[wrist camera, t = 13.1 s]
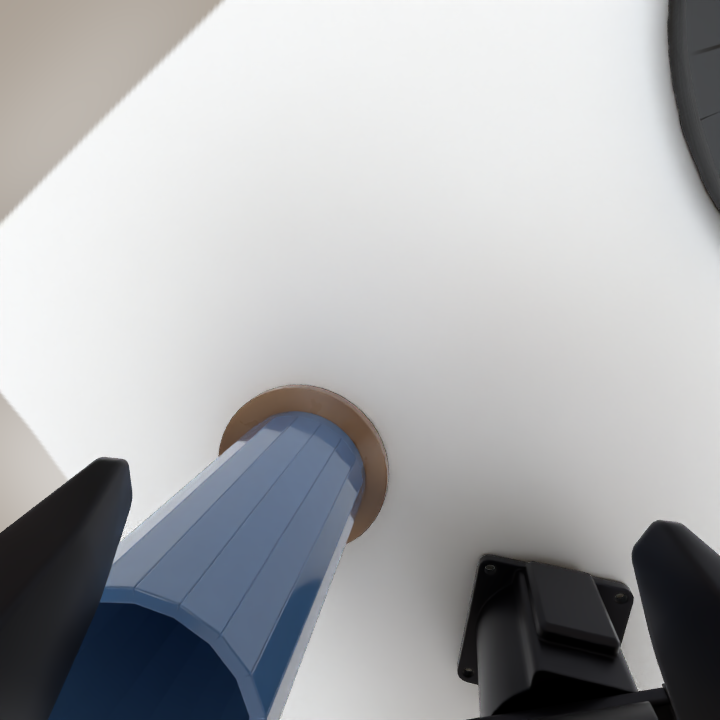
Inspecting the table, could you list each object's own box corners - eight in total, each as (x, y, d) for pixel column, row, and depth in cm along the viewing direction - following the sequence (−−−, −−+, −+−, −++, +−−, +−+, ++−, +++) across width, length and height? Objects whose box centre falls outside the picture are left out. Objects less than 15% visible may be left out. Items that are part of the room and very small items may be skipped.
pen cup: (388, 509, 23) (314, 791, 11) (273, 550, 25) (98, 838, 12) (330, 389, 22) (183, 550, 10) (216, 439, 24) (-29, 630, 12)
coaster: (376, 561, 24) (374, 569, 24) (218, 526, 26) (212, 532, 25) (400, 401, 22) (399, 405, 22) (229, 371, 24) (223, 374, 23)
